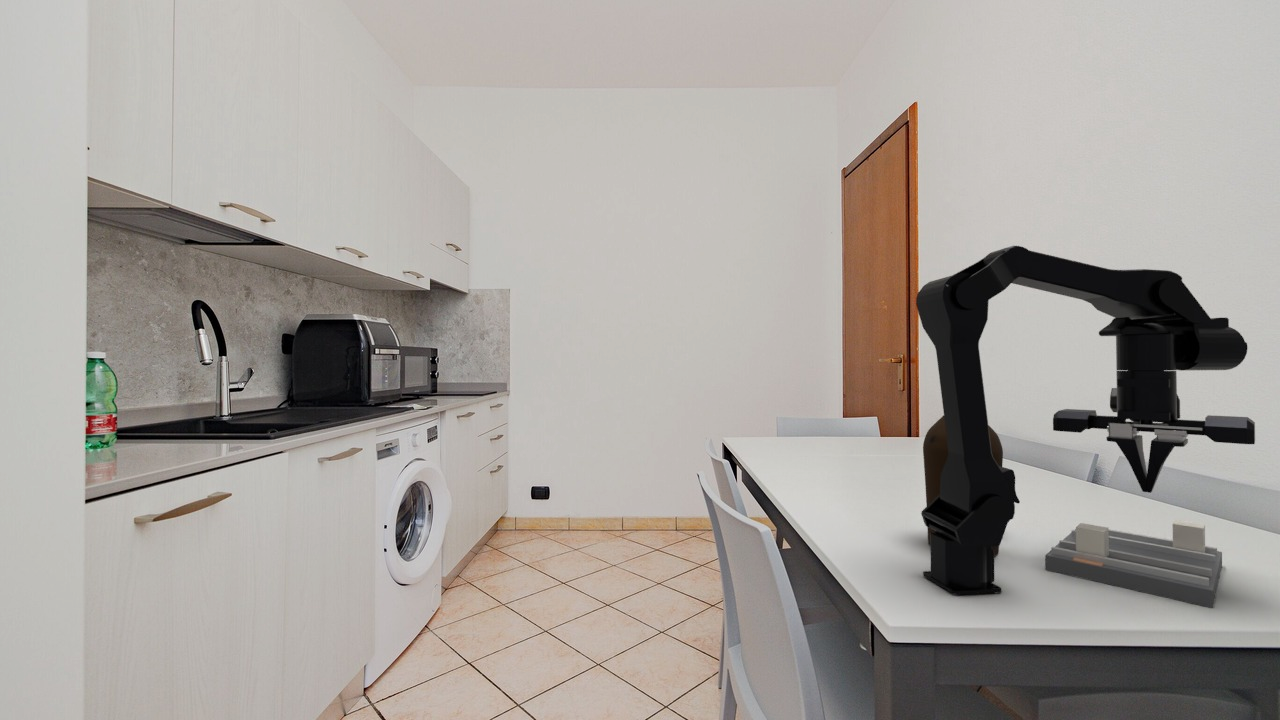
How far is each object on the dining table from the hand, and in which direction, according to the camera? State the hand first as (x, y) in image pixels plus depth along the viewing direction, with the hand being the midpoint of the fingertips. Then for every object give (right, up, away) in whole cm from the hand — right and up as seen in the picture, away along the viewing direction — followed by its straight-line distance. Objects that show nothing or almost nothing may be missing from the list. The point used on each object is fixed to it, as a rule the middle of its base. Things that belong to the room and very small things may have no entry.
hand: (1147, 491), depth 71 cm
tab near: (-4, -10, +4) cm, 11 cm away
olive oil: (-16, -12, +14) cm, 24 cm away
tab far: (+11, -9, +6) cm, 16 cm away
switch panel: (+3, -12, +5) cm, 13 cm away
